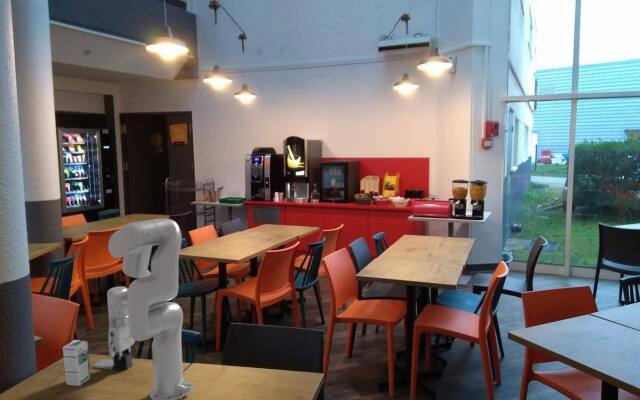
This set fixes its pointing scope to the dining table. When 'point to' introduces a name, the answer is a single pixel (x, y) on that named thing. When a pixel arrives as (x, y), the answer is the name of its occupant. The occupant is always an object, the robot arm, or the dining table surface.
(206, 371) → the dining table surface
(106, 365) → the two-tone stacked blocks
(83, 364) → the syrup box
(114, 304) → the robot arm
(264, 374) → the dining table surface
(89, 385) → the dining table surface
